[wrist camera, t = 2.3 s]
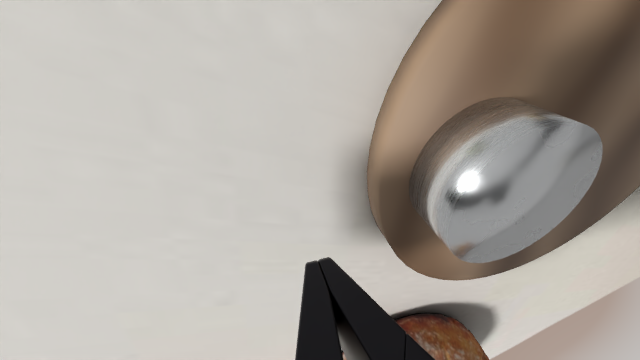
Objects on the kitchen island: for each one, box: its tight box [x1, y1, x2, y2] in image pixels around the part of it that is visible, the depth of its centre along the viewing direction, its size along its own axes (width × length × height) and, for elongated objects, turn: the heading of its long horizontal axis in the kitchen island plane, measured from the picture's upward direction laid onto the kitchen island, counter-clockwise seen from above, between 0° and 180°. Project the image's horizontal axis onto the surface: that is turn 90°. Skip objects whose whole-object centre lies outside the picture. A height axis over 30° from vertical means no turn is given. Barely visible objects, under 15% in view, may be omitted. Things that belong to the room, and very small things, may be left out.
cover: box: [409, 97, 603, 263], centre depth 13 cm, size 7×7×3 cm
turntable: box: [367, 0, 640, 280], centre depth 14 cm, size 21×21×4 cm
